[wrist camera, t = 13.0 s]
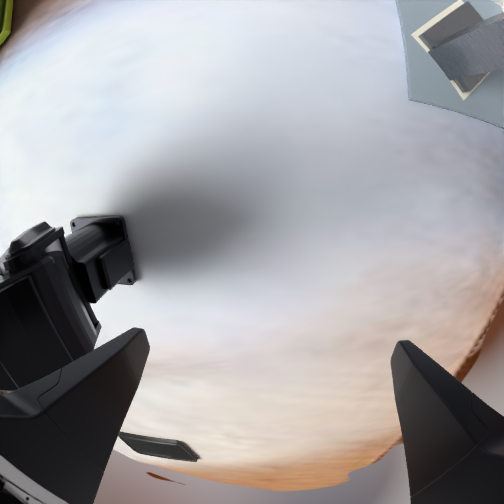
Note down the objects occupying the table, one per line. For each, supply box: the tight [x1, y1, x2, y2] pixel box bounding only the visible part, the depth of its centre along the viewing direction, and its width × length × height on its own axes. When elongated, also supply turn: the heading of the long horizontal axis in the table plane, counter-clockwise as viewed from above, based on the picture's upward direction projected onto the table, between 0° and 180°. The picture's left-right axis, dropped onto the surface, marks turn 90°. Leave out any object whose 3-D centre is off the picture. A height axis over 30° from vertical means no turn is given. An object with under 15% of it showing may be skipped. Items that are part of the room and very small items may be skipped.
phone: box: [118, 432, 198, 462], centre depth 39 cm, size 8×1×15 cm
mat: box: [396, 0, 504, 129], centre depth 12 cm, size 14×15×1 cm
